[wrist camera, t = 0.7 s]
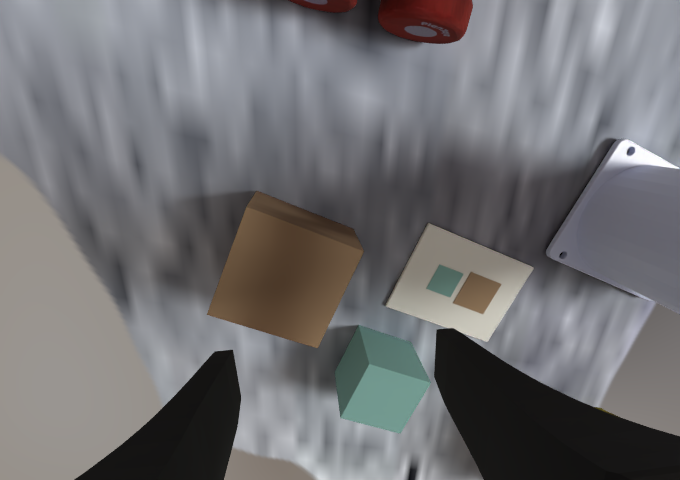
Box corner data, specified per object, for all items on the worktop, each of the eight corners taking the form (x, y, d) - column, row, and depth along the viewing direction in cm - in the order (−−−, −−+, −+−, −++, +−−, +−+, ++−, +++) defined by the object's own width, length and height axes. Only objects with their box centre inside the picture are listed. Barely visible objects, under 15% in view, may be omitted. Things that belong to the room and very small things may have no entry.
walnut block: (352, 227, 21) (364, 251, 17) (314, 310, 23) (317, 348, 19) (257, 189, 20) (246, 206, 16) (223, 280, 21) (207, 314, 18)
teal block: (410, 341, 24) (430, 382, 20) (385, 386, 25) (400, 433, 21) (358, 324, 23) (369, 364, 19) (334, 371, 24) (340, 417, 20)
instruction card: (532, 266, 23) (534, 268, 23) (485, 340, 25) (487, 342, 24) (428, 222, 21) (429, 223, 21) (385, 304, 23) (386, 306, 23)
